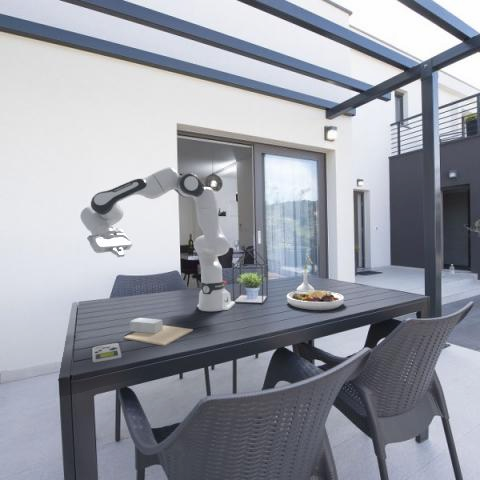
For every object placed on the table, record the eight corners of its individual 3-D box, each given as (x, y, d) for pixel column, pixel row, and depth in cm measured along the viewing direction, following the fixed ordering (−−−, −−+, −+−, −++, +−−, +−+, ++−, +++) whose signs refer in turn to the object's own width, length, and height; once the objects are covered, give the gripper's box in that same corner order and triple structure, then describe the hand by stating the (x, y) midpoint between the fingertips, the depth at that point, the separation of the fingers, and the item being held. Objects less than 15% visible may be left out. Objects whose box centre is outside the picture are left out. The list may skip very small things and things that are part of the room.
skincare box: (129, 331, 129) (154, 334, 125) (129, 321, 129) (154, 323, 125) (139, 327, 135) (163, 329, 131) (138, 317, 135) (162, 319, 131)
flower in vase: (310, 294, 195) (310, 254, 194) (293, 293, 201) (293, 254, 200) (317, 291, 206) (317, 253, 205) (301, 289, 212) (301, 252, 211)
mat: (154, 325, 139) (154, 323, 139) (192, 330, 130) (192, 329, 130) (123, 338, 123) (123, 337, 123) (164, 345, 114) (164, 344, 114)
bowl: (277, 301, 181) (277, 287, 181) (323, 297, 190) (323, 284, 190) (304, 314, 152) (304, 298, 152) (355, 308, 162) (355, 293, 161)
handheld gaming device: (118, 342, 118) (121, 356, 104) (118, 344, 118) (122, 358, 104) (92, 346, 114) (92, 361, 100) (92, 348, 114) (92, 364, 100)
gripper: (88, 230, 135) (106, 253, 132) (124, 229, 154) (141, 249, 150) (82, 241, 137) (99, 263, 134) (118, 238, 156) (134, 258, 152)
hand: (121, 256), depth 142 cm, fingers closed
